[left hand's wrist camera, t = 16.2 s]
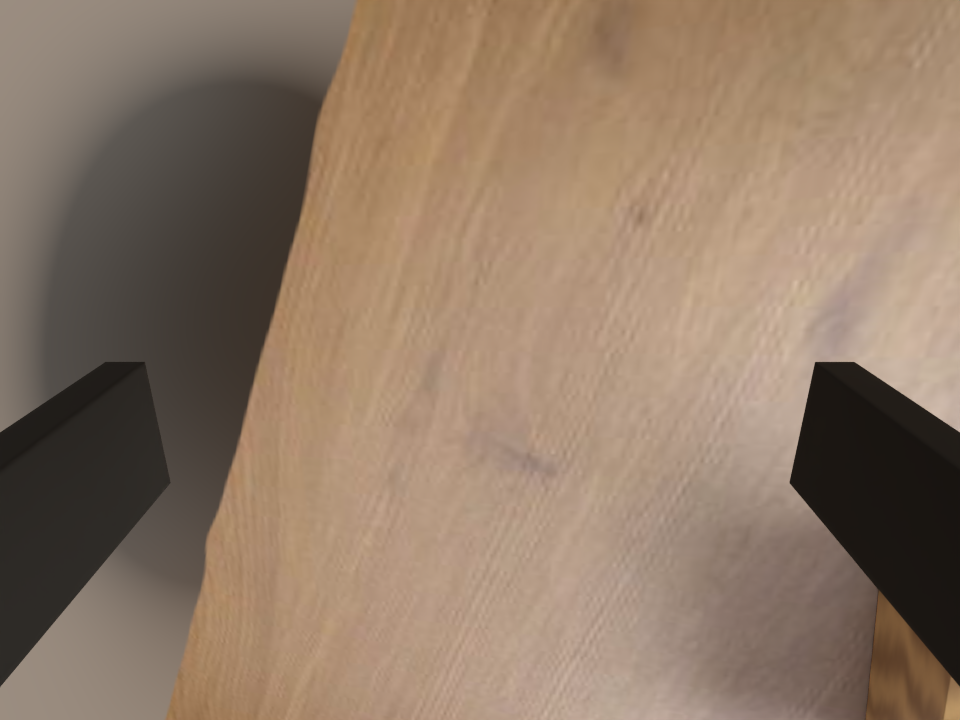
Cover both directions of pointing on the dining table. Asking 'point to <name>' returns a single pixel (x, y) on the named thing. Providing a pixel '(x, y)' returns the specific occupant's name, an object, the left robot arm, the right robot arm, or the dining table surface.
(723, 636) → the dining table surface
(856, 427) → the left robot arm
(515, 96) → the dining table surface
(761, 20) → the dining table surface
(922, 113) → the dining table surface
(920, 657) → the bar
